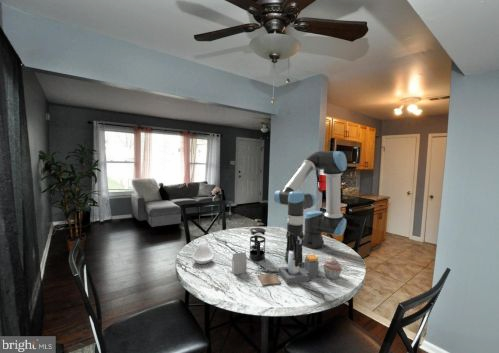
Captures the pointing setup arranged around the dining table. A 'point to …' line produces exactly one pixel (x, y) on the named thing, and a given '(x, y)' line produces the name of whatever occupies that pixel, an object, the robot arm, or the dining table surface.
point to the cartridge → (291, 263)
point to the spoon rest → (202, 254)
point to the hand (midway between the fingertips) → (293, 269)
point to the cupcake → (332, 268)
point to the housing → (300, 273)
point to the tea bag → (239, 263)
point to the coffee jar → (287, 251)
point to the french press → (257, 244)
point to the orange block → (311, 258)
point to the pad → (269, 279)
